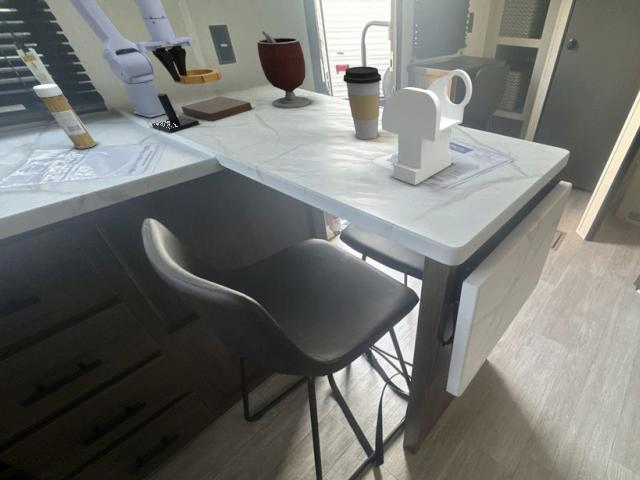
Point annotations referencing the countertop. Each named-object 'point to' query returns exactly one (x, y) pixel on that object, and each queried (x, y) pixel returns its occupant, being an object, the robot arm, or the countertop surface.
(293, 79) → the mate gourd
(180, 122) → the peg stand
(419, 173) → the tape dispenser
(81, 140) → the sprinkles bottle
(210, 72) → the orange ring
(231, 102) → the coaster
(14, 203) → the countertop surface
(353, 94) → the coffee cup
